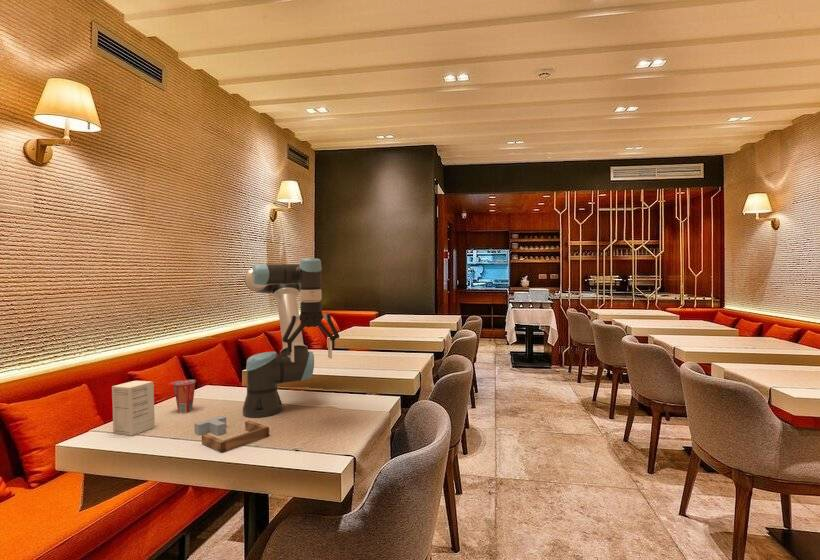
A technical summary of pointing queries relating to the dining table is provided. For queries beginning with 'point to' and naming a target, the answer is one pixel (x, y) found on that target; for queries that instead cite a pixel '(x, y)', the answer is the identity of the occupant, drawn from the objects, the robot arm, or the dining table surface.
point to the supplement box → (133, 407)
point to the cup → (184, 394)
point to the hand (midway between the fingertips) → (311, 359)
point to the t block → (211, 426)
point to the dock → (237, 437)
